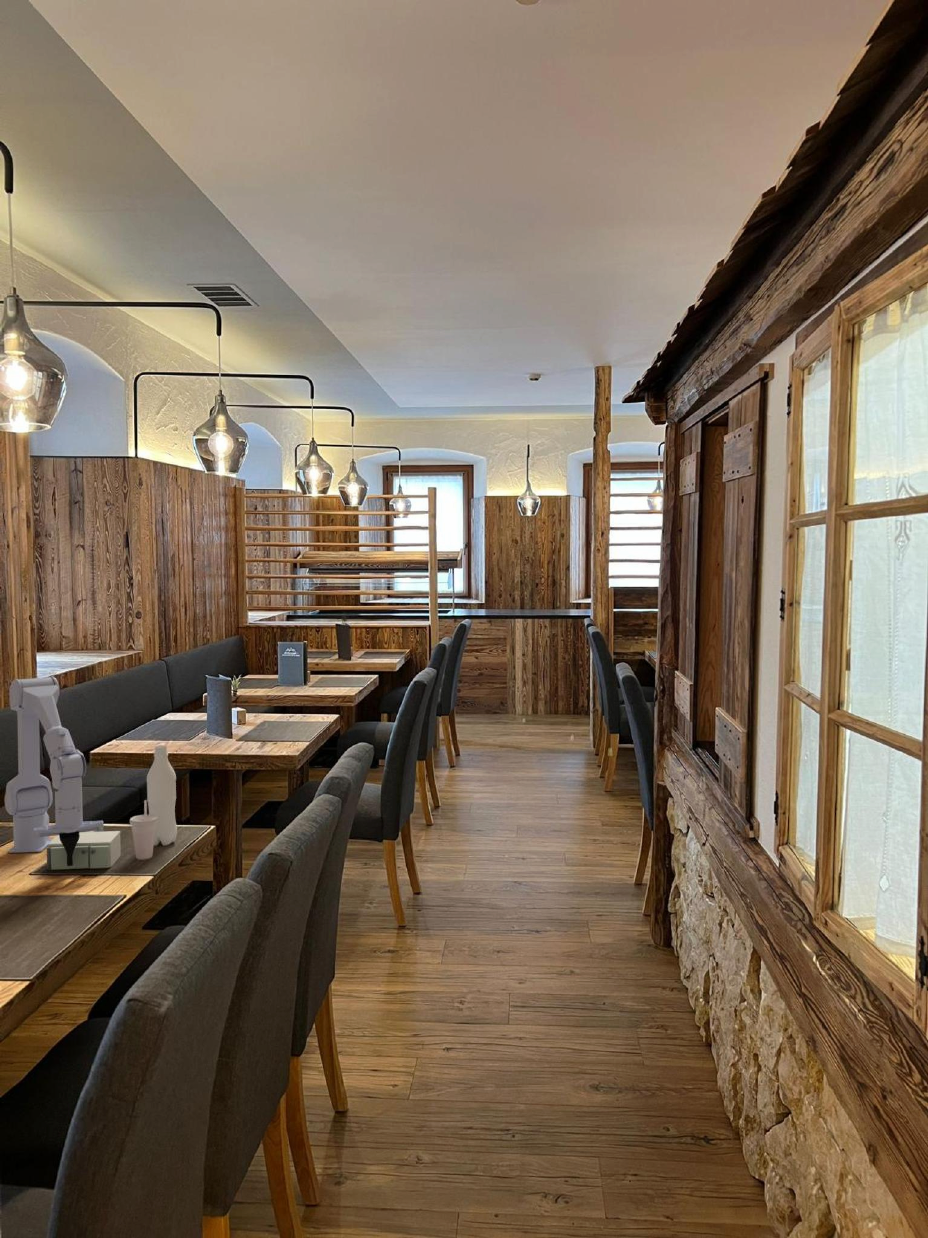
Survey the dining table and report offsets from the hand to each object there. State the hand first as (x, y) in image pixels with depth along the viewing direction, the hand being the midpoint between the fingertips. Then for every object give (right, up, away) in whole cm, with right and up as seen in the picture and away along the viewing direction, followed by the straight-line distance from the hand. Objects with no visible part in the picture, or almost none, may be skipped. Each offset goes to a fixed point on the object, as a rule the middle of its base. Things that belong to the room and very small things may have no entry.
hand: (70, 864), depth 208 cm
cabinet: (0, -2, +7) cm, 7 cm away
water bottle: (+14, -1, +23) cm, 27 cm away
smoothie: (+13, -2, +12) cm, 18 cm away
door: (-1, -2, +2) cm, 3 cm away
